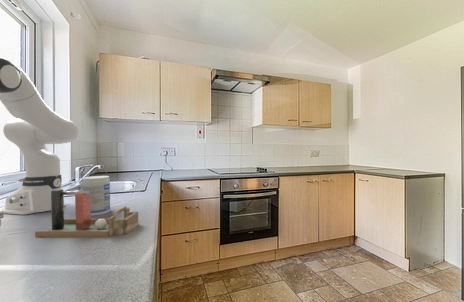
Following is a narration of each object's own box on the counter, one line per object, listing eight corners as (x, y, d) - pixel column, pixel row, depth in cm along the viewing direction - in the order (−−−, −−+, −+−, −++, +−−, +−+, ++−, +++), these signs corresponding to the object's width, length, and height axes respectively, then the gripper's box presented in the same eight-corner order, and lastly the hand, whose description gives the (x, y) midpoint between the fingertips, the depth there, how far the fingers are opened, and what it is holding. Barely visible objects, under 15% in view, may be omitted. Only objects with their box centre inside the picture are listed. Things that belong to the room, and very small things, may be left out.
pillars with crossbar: (48, 229, 65) (48, 191, 65) (57, 226, 68) (56, 189, 68) (86, 229, 65) (85, 191, 65) (93, 226, 68) (92, 189, 68)
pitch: (35, 239, 61) (35, 231, 61) (65, 225, 72) (65, 218, 72) (108, 239, 61) (107, 231, 61) (127, 225, 72) (127, 218, 72)
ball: (92, 231, 65) (92, 220, 65) (99, 227, 68) (98, 217, 68) (102, 231, 65) (102, 220, 65) (109, 227, 68) (108, 217, 68)
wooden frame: (108, 238, 61) (108, 214, 61) (127, 225, 72) (127, 204, 72) (123, 238, 61) (123, 214, 61) (139, 225, 72) (139, 204, 72)
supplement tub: (111, 214, 83) (110, 177, 83) (81, 219, 78) (80, 179, 78) (109, 209, 91) (108, 174, 91) (82, 212, 86) (81, 176, 86)
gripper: (-107, 231, 41) (-1, 215, 51) (-73, 209, 56) (4, 200, 65) (-106, 264, 41) (-1, 241, 51) (-73, 233, 56) (4, 220, 66)
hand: (2, 218), depth 58 cm, fingers open, 8 cm apart
